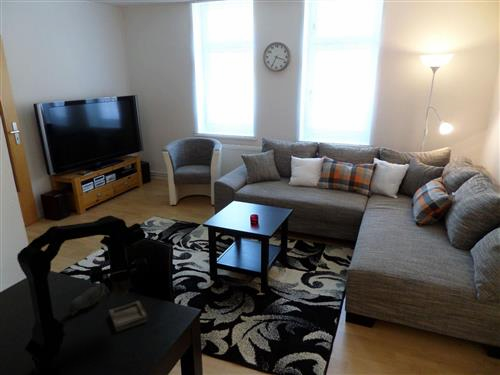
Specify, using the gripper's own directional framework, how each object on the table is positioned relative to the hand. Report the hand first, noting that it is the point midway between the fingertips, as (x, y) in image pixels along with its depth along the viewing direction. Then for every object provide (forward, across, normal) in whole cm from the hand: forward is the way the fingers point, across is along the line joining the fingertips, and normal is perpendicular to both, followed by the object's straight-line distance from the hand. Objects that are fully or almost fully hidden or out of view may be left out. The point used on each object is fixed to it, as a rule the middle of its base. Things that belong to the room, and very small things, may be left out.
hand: (122, 290), depth 121 cm
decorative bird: (+13, +11, -15) cm, 23 cm away
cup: (+2, 0, 0) cm, 2 cm away
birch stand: (+13, -1, -1) cm, 13 cm away
